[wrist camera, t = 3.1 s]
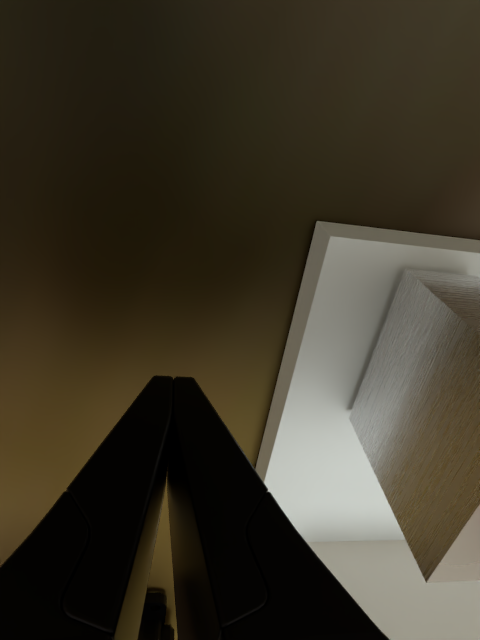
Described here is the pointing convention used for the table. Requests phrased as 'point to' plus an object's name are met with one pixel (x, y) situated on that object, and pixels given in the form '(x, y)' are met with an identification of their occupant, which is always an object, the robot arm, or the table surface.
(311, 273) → the gauge base
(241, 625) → the robot arm
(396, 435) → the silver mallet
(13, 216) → the table surface
